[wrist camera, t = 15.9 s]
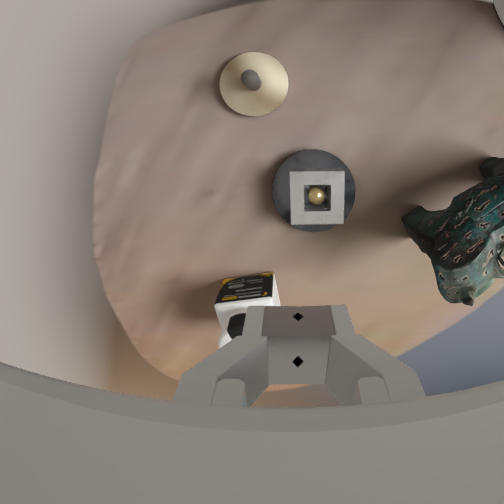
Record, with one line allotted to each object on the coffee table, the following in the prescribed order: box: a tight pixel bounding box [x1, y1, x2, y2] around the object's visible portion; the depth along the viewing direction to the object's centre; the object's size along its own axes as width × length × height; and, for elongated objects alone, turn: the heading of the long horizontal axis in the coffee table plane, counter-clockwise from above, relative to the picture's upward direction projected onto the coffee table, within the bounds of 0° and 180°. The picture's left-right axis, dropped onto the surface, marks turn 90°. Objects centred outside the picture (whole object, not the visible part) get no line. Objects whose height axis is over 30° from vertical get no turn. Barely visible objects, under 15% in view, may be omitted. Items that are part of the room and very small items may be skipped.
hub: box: [272, 149, 355, 232], centre depth 37 cm, size 10×10×4 cm
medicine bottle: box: [214, 272, 281, 349], centre depth 40 cm, size 7×7×12 cm
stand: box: [220, 52, 288, 116], centre depth 32 cm, size 8×8×6 cm
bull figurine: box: [402, 157, 504, 306], centre depth 28 cm, size 20×6×20 cm, turn 126°
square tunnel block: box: [289, 168, 345, 225], centre depth 36 cm, size 6×6×3 cm
